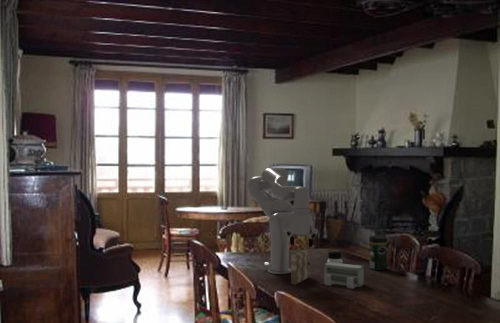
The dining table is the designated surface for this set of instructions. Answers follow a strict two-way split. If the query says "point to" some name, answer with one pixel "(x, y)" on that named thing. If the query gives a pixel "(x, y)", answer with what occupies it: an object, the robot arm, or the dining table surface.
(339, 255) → the container
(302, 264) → the beige thin block
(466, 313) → the dining table surface
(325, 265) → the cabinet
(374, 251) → the coffee jar
